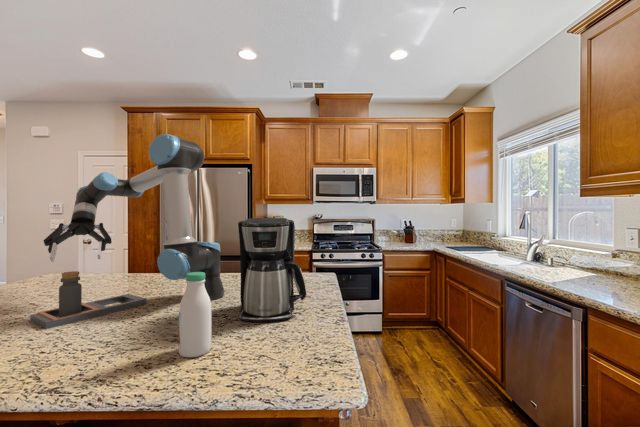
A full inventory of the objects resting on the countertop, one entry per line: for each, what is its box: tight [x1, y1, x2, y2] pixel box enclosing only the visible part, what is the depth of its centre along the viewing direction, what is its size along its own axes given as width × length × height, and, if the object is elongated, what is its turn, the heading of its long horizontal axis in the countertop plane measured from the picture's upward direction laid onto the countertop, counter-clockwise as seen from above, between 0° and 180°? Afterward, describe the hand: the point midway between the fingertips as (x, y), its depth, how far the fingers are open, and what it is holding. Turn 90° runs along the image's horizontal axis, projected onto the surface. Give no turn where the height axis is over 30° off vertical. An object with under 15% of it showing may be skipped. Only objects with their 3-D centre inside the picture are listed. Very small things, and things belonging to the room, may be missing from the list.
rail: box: [29, 293, 147, 330], centre depth 107 cm, size 13×30×2 cm, turn 149°
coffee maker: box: [237, 217, 307, 323], centre depth 112 cm, size 23×32×34 cm
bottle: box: [58, 270, 83, 317], centre depth 102 cm, size 6×6×15 cm
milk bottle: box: [178, 272, 212, 358], centre depth 77 cm, size 8×8×20 cm
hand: (76, 258), depth 110 cm, fingers open, 13 cm apart
